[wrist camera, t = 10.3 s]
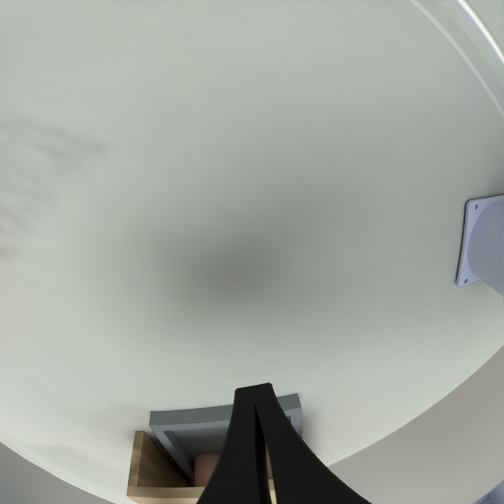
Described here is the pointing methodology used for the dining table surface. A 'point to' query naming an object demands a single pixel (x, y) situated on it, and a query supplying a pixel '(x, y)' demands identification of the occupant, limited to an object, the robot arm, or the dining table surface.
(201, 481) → the peg
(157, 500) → the wooden l-shaped bracket
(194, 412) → the tray
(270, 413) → the robot arm
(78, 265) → the dining table surface
